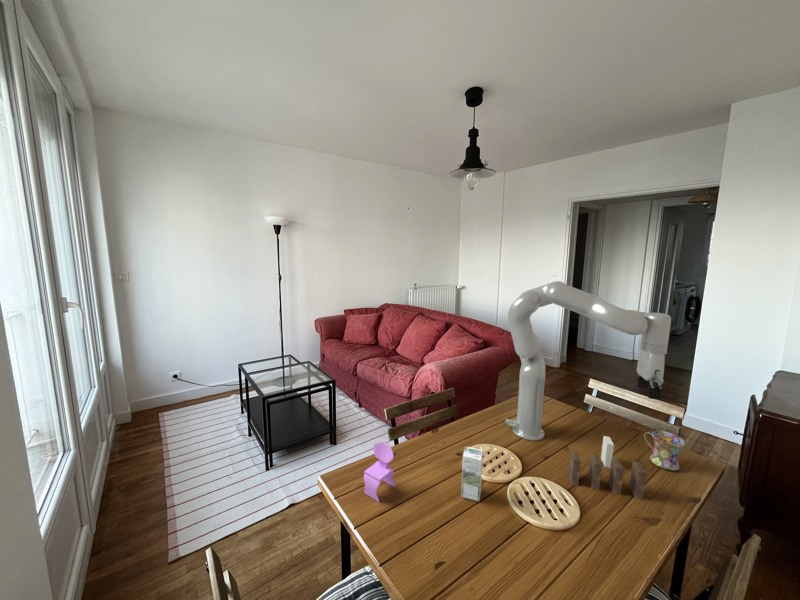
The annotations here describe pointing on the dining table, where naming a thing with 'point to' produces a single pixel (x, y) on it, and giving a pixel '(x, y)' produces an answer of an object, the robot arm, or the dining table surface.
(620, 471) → the tile
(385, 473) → the toy chair
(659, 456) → the mug
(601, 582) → the dining table surface
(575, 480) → the tile
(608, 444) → the white end domino
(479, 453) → the syrup box
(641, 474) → the tile
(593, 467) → the tile
